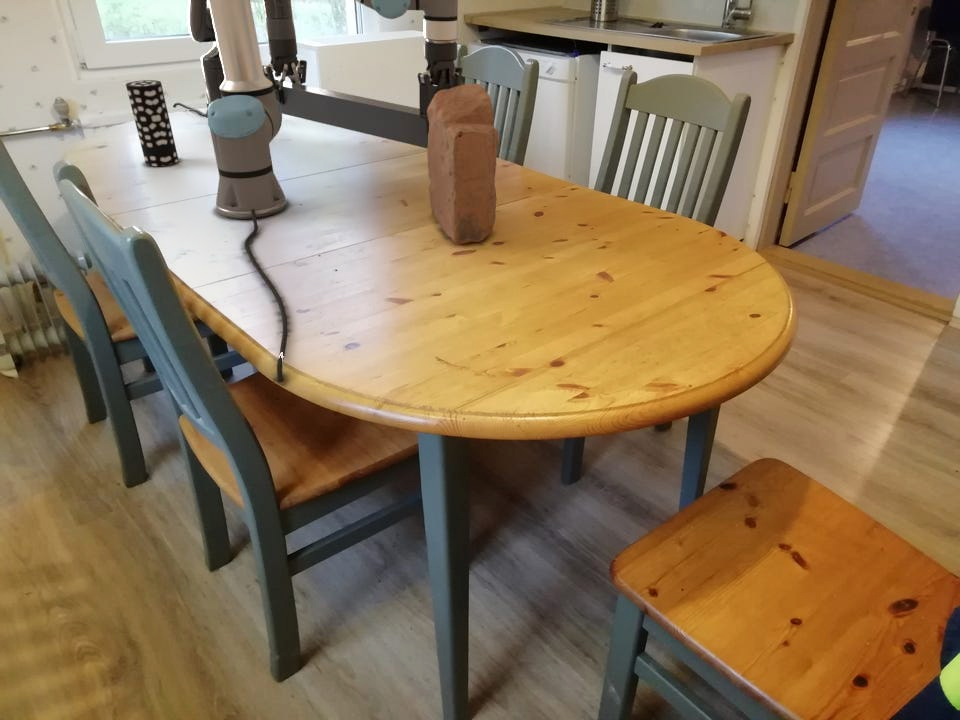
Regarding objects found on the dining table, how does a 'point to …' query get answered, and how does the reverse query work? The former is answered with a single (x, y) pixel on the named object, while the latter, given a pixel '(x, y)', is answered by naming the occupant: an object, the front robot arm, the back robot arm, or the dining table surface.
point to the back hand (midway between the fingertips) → (289, 101)
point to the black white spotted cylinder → (152, 122)
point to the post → (355, 113)
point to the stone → (462, 162)
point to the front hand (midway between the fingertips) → (440, 145)
